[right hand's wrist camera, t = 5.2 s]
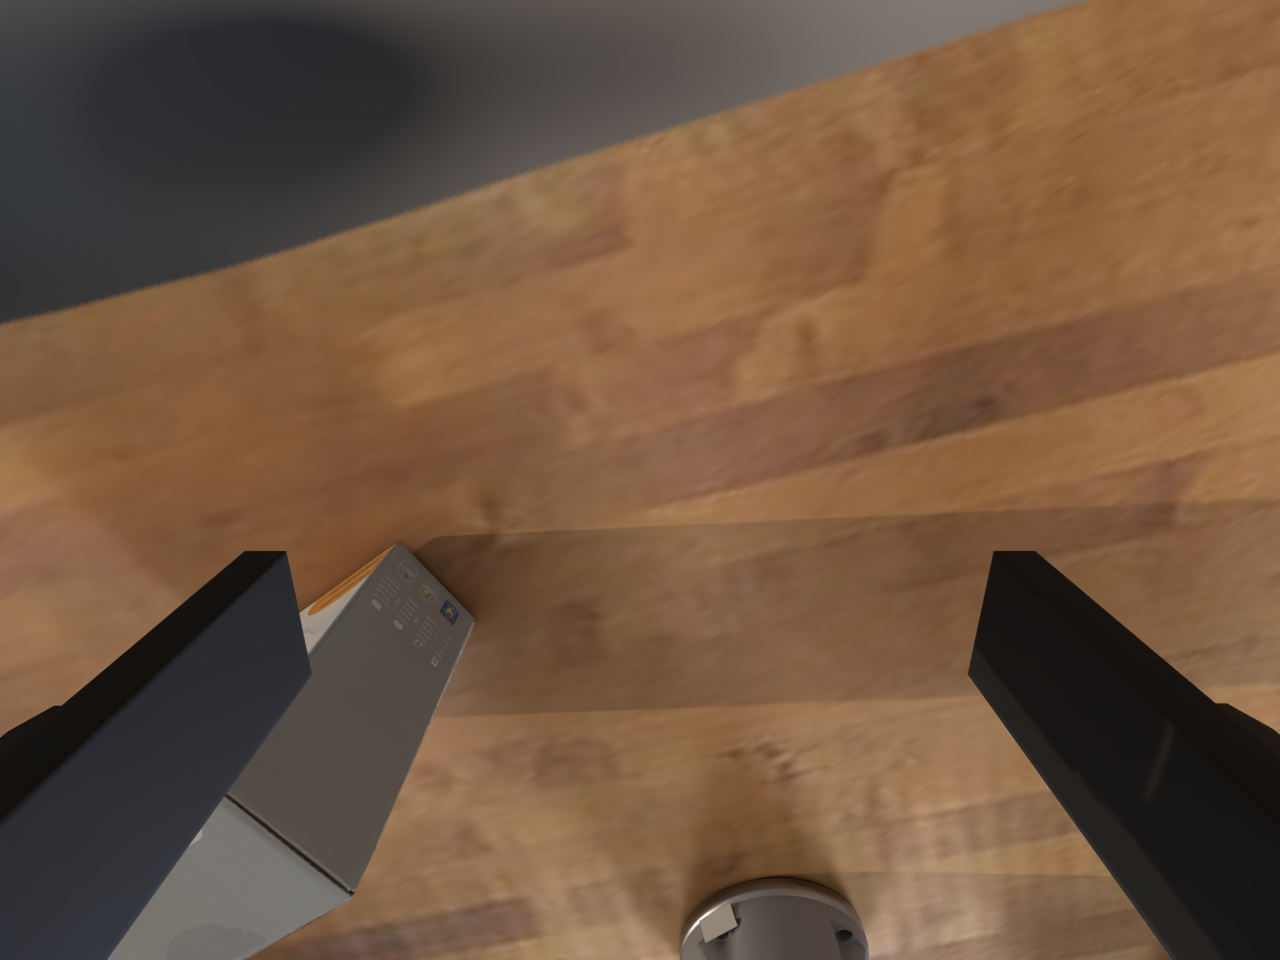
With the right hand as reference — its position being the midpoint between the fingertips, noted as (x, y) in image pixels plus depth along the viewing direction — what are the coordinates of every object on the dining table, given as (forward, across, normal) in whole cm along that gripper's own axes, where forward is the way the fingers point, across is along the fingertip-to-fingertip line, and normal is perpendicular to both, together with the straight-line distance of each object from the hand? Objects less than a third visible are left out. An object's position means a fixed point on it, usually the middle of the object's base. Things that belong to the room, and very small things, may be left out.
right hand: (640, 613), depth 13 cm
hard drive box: (+28, +19, +19) cm, 39 cm away
